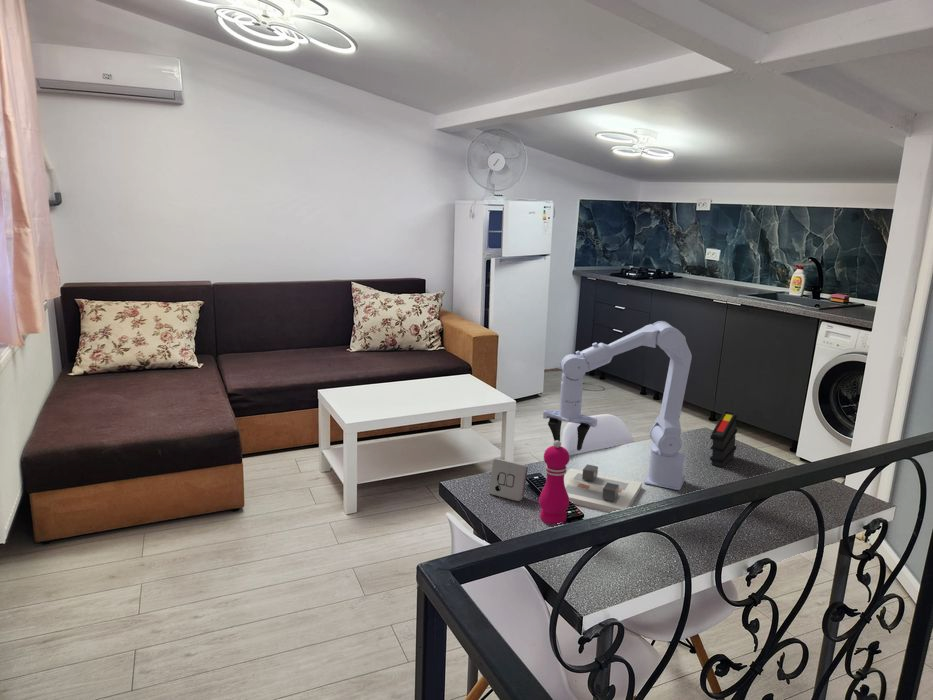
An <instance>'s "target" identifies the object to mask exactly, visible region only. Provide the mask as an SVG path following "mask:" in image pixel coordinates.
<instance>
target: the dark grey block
mask: <svg viewBox="0 0 933 700" xmlns="http://www.w3.org/2000/svg"><path fill="white" fill-rule="evenodd" d="M598 469H599V466H596V465H591V464H586V465H585V466H584V468H583V469H582V471H583V475H582V479H583V480H588V481H594V480H595V478H596V477H597V474H599V473H598V471H599V470H598Z"/></svg>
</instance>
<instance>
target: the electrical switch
mask: <svg viewBox="0 0 933 700" xmlns="http://www.w3.org/2000/svg"><path fill="white" fill-rule="evenodd" d="M528 469H529V467H528V466H527V465H525V464H523V463H522V464H521V463H518V462H513V461H510V460H509V461H508V460H504V459H501V458H495V459H493V460H492V466H491V473H490V477H489V484H488V494H489V495H493V496H497V497H500V498H504V499H509V500H512V501H516V502H521V501H522V500H523V497H524V496H525V489H526V482H527V476H528ZM522 496H523V497H522Z"/></svg>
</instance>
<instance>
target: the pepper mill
mask: <svg viewBox="0 0 933 700" xmlns="http://www.w3.org/2000/svg"><path fill="white" fill-rule="evenodd" d="M552 444H553V445H551V446H549V447H547V448H546V450H545V451H544V452H543V460H544V463H545V465H544V466H545V468H544V469H545V470H544V472H545V473H546V480H545V484H544V486H543V488H542V489H541V491H540V495H539V498H538V504H539V506H540V508H541V510H540V513H539V514H540V516H539V517H540V520H541V521H542V522H543V523H545V524H548V525H553V524H557V523H560V522H564V521H565V522H566V521H567V517H568V516H567V510H568V509H569V507H570V503H569V497H568V494H567V491H566V488H565V485H564V474H566V472H567V469H568V468H567V465H568V464H569V462H570V453H569V451H568V450H567V449H566V448H565V447H564V446H562V443H561V440H560V441H558V440H556V441H554V440H553V443H552ZM565 522H564V523H565ZM561 524H563V523H560V524H559V525H561ZM557 525H558V524H557Z"/></svg>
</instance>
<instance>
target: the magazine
mask: <svg viewBox="0 0 933 700" xmlns="http://www.w3.org/2000/svg"><path fill="white" fill-rule="evenodd" d="M737 418H738V414H736V412H735V411H730V410H724V411H723V413H722V415H721V416H720V418H719V420H718V421H717V423H716V425H715V427H714V429H713V430H712V432H711V435H710V436H709V437H710V440H712V445H711V447H710V450H712V455H711V457H709V460H710V461H711V465H712V466H716V467H719V468H722V467H724V466H725V465H726V464H727V463H728V462H730V460H732V459H733V458H734V457H735V456H734V455H735V451H736V450H737V445H736V434H737V433H738V428H737V427H736V422H737V421H736V420H737Z"/></svg>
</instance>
